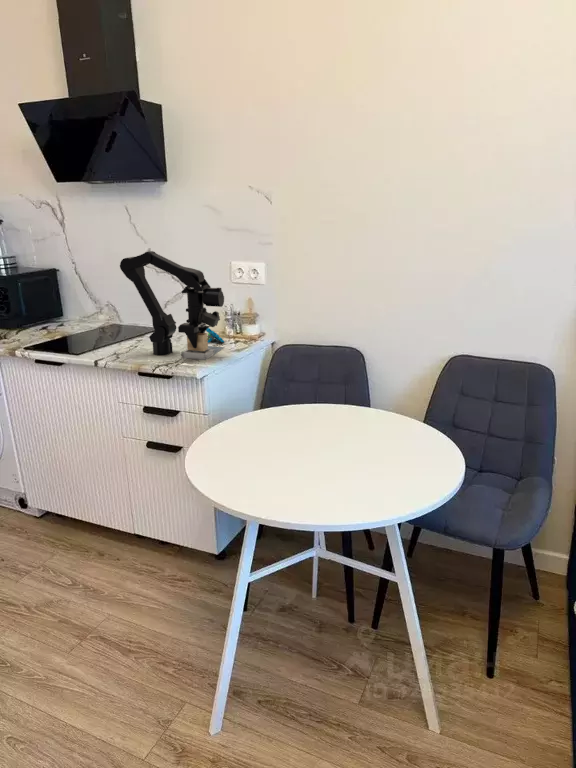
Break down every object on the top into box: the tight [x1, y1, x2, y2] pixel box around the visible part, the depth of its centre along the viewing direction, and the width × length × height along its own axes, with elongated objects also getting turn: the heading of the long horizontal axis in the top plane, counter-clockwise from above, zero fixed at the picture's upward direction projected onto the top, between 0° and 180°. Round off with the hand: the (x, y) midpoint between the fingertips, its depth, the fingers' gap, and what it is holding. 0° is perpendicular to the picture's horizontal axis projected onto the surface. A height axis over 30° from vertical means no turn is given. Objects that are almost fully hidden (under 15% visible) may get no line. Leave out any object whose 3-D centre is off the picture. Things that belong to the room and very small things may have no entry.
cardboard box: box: [186, 332, 209, 351], centre depth 206 cm, size 6×4×6 cm, turn 74°
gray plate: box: [180, 345, 226, 361], centre depth 212 cm, size 20×10×3 cm, turn 164°
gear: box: [205, 327, 225, 344], centre depth 229 cm, size 11×6×10 cm
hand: (197, 346), depth 206 cm, fingers closed on cardboard box, 4 cm apart
